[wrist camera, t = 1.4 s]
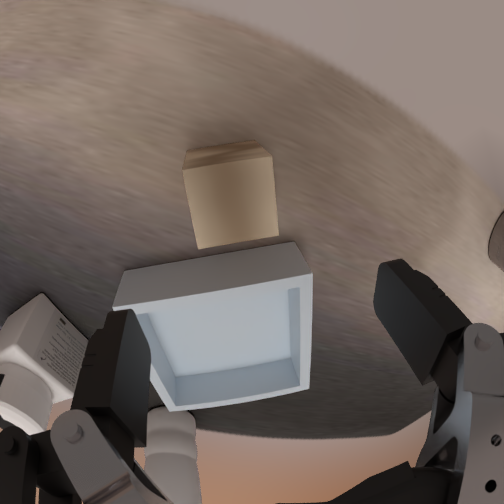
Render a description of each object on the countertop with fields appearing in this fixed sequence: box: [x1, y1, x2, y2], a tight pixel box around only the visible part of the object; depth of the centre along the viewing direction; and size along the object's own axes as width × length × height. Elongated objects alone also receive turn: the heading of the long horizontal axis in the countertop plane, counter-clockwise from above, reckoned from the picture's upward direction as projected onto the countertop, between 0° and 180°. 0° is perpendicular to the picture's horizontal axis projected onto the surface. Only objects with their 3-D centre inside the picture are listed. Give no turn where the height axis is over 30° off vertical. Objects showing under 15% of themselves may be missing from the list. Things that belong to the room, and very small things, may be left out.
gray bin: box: [112, 241, 313, 412], centre depth 27 cm, size 15×15×5 cm
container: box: [0, 293, 88, 435], centre depth 21 cm, size 8×8×13 cm
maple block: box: [182, 140, 279, 249], centre depth 20 cm, size 5×5×6 cm
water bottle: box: [144, 406, 202, 504], centre depth 27 cm, size 7×7×25 cm
